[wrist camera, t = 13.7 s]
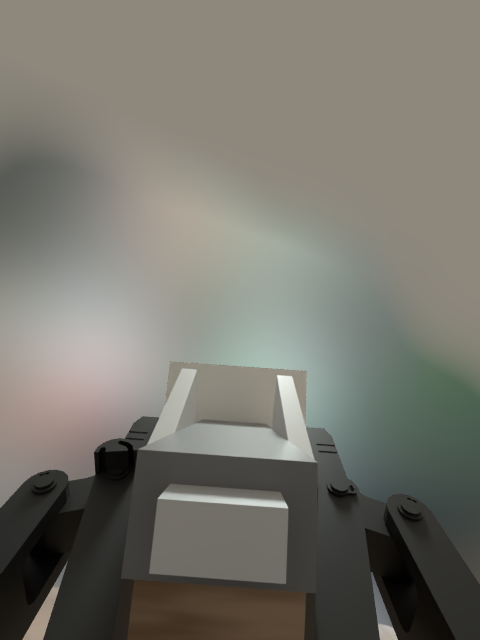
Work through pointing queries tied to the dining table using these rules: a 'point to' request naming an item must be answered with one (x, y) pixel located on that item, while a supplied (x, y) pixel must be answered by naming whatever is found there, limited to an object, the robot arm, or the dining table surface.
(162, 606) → the stand
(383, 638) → the dining table surface
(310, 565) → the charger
